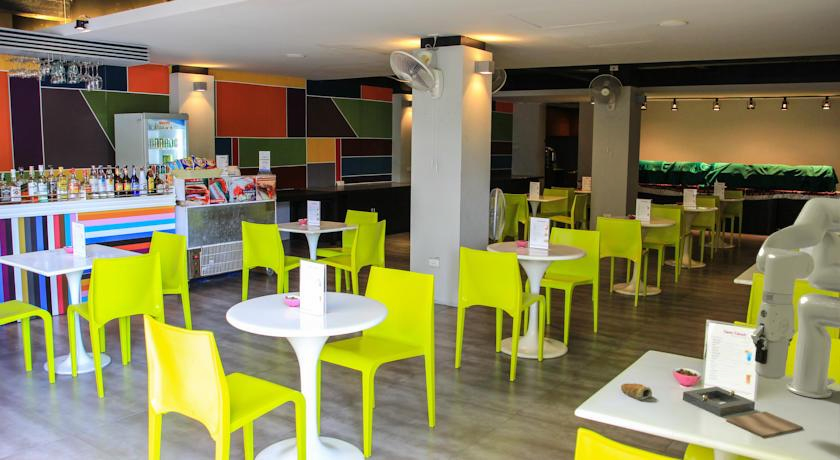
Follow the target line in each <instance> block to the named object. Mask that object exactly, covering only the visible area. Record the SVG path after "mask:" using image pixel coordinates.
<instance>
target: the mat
mask: <svg viewBox="0 0 840 460" xmlns="http://www.w3.org/2000/svg"><path fill="white" fill-rule="evenodd" d="M725 421H726V422H727V423H729V424H731V425H734V426H735V427H739V428H741V429H742V430H745V431H746V432H749V433H751V434H753V435H756V436H757V437H761V438H762V439H763V438H767V437H773V436H777V435H783V434H786V433H791V432H795V431H800V430H803V429H804V426H801V425H799V424H797V423H795V422H792V421H790V420H788V419H784V418H782V417H780V416H777V415H775V414H773V413H770V412H769V411H760V412H756V413H751V414H746V415H740V416H735V417H729V418H726V419H725Z"/></svg>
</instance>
